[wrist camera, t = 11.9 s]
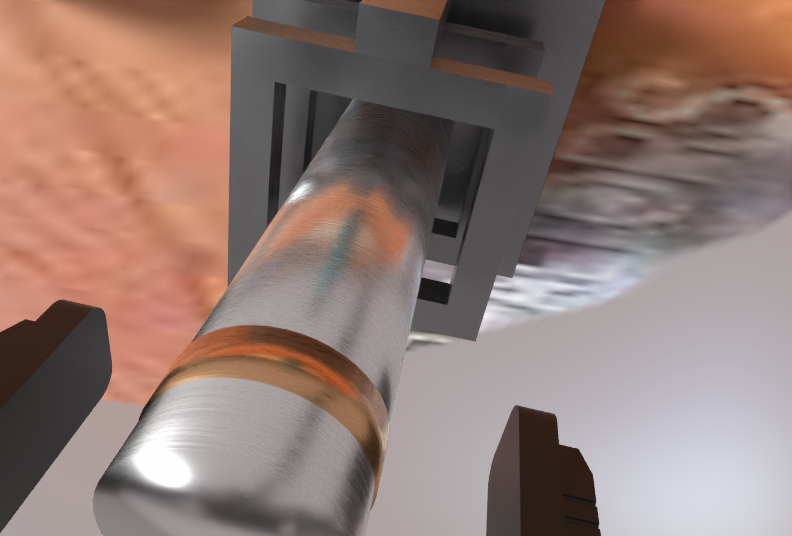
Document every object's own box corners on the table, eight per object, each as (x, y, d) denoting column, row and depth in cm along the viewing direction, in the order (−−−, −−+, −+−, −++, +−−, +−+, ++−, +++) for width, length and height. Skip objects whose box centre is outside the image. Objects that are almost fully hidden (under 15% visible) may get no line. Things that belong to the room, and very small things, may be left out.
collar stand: (605, -21, 22) (651, 37, 15) (511, 263, 28) (514, 392, 22) (267, -91, 22) (160, -66, 15) (254, 206, 29) (177, 315, 22)
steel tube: (467, 78, 23) (379, 492, 8) (443, 178, 25) (342, 644, 10) (358, 55, 23) (73, 417, 8) (344, 156, 25) (104, 583, 10)
